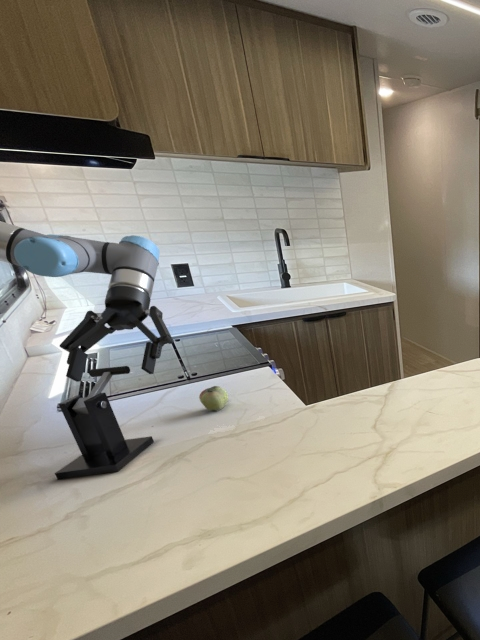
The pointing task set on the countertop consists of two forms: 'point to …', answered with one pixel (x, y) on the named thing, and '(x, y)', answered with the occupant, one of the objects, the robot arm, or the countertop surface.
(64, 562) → the countertop surface
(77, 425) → the black lever stand
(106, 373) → the lever
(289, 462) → the countertop surface
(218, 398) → the apple
